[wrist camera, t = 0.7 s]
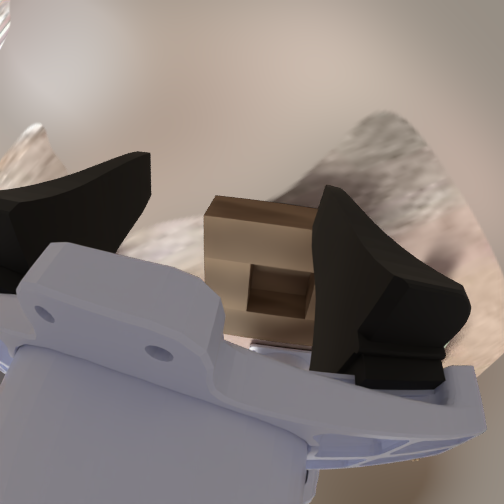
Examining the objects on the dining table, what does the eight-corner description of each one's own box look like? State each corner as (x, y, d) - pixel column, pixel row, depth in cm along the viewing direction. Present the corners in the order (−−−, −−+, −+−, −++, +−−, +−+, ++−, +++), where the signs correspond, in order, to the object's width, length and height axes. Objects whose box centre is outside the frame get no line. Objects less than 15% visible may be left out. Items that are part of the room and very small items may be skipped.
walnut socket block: (331, 321, 29) (333, 348, 26) (215, 305, 30) (206, 330, 27) (366, 216, 22) (376, 239, 19) (215, 195, 23) (203, 215, 20)
